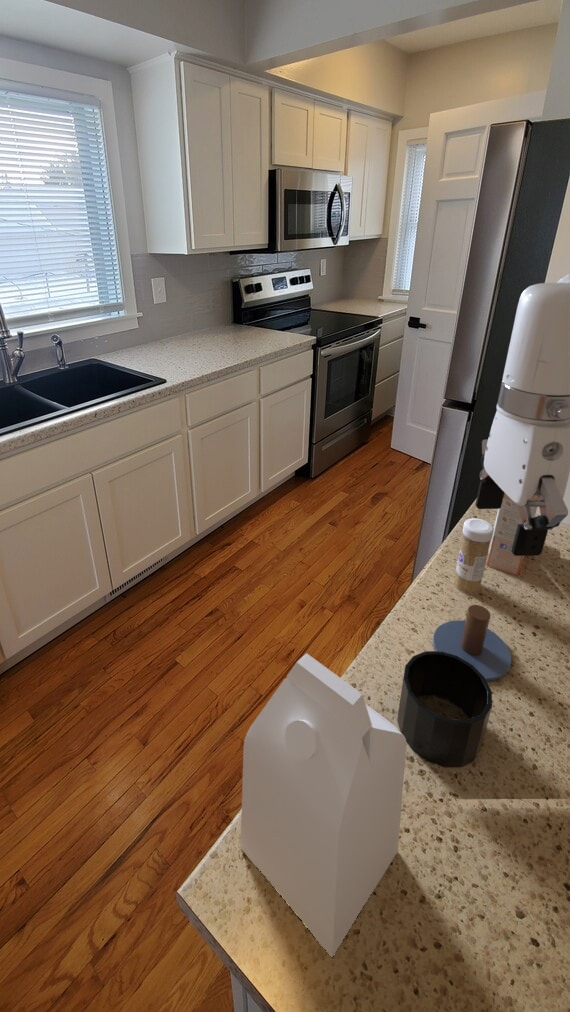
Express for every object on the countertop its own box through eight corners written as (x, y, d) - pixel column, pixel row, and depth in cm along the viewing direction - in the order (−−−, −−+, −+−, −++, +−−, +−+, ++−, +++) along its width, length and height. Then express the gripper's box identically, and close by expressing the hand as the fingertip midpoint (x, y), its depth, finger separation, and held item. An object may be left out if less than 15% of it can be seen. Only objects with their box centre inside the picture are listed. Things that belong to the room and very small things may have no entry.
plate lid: (490, 625, 78) (499, 585, 75) (524, 684, 68) (536, 641, 65) (422, 626, 79) (429, 586, 75) (447, 684, 69) (455, 642, 65)
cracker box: (520, 578, 88) (546, 477, 79) (484, 567, 91) (505, 469, 82) (526, 537, 99) (550, 445, 90) (494, 529, 102) (513, 438, 93)
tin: (461, 695, 67) (471, 650, 64) (494, 770, 58) (507, 723, 55) (389, 695, 68) (394, 651, 64) (410, 770, 58) (418, 723, 55)
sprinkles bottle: (447, 581, 88) (458, 519, 82) (469, 577, 89) (481, 515, 83) (463, 599, 84) (476, 535, 78) (486, 594, 85) (500, 530, 79)
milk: (397, 851, 51) (428, 678, 40) (332, 959, 44) (348, 783, 33) (308, 768, 59) (314, 605, 48) (240, 848, 52) (229, 676, 41)
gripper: (626, 432, 46) (578, 576, 53) (529, 376, 61) (502, 493, 68) (546, 433, 46) (508, 576, 53) (469, 377, 61) (449, 493, 68)
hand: (505, 529), depth 61 cm, fingers open, 9 cm apart
